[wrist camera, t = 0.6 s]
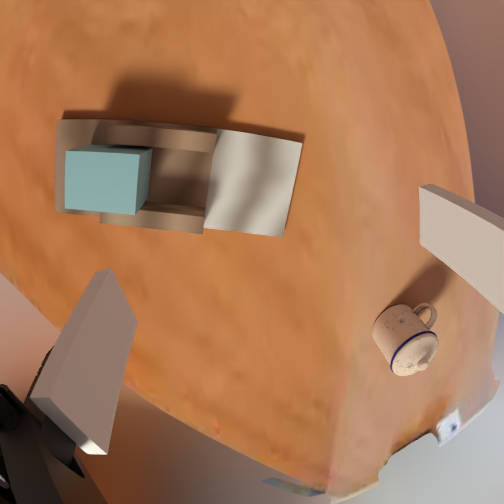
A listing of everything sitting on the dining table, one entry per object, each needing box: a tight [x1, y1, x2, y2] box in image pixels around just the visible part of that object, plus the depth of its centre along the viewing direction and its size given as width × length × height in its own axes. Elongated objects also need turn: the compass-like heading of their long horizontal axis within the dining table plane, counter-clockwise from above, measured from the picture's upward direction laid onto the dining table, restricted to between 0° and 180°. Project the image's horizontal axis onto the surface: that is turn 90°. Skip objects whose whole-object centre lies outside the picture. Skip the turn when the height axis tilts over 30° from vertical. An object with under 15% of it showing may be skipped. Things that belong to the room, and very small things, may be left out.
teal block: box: [65, 144, 153, 215], centre depth 30 cm, size 8×6×6 cm
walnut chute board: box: [55, 119, 303, 237], centre depth 33 cm, size 30×12×4 cm, turn 79°
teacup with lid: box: [372, 303, 438, 376], centre depth 44 cm, size 12×9×12 cm
